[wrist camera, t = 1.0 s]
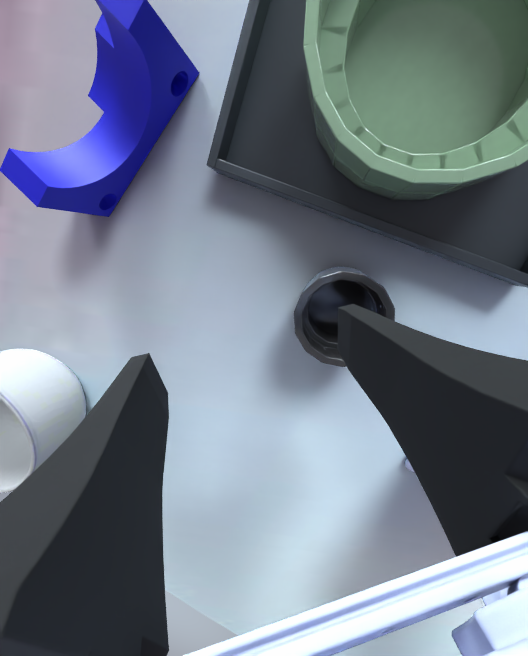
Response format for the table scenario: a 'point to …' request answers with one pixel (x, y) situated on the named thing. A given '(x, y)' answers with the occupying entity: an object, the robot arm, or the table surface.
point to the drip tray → (329, 183)
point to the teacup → (34, 411)
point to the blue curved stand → (112, 115)
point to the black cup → (335, 309)
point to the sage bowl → (418, 91)
